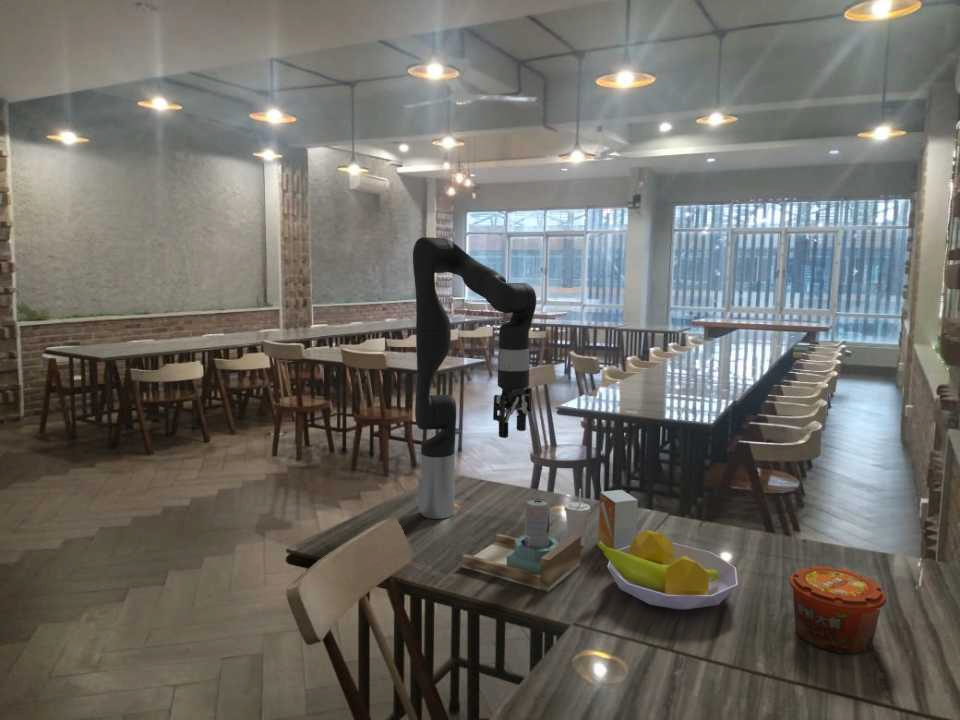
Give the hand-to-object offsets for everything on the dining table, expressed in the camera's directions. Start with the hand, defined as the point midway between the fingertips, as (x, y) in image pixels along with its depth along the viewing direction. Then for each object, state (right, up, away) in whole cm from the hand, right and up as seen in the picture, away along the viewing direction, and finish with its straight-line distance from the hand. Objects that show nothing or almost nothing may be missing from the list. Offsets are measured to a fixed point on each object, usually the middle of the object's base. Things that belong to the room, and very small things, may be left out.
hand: (512, 433), depth 168 cm
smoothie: (+16, -28, +5) cm, 33 cm away
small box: (+26, -28, +4) cm, 38 cm away
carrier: (+5, -29, -10) cm, 31 cm away
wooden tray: (+2, -29, -8) cm, 31 cm away
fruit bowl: (+31, -32, -20) cm, 49 cm away
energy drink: (+5, -26, -11) cm, 28 cm away
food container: (+58, -34, -37) cm, 77 cm away
